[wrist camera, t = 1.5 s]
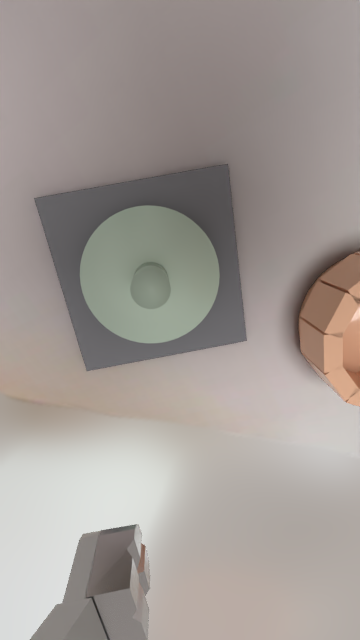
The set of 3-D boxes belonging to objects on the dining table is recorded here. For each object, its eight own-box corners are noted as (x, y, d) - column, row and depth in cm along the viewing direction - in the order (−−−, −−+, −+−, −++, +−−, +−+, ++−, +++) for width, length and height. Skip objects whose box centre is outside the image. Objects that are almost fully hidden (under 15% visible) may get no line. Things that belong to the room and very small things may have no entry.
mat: (36, 198, 26) (34, 198, 25) (226, 164, 26) (227, 163, 26) (88, 368, 31) (86, 371, 31) (244, 338, 31) (246, 340, 31)
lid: (65, 219, 26) (45, 220, 21) (206, 193, 26) (219, 189, 21) (102, 349, 30) (92, 375, 25) (224, 325, 30) (238, 347, 25)
